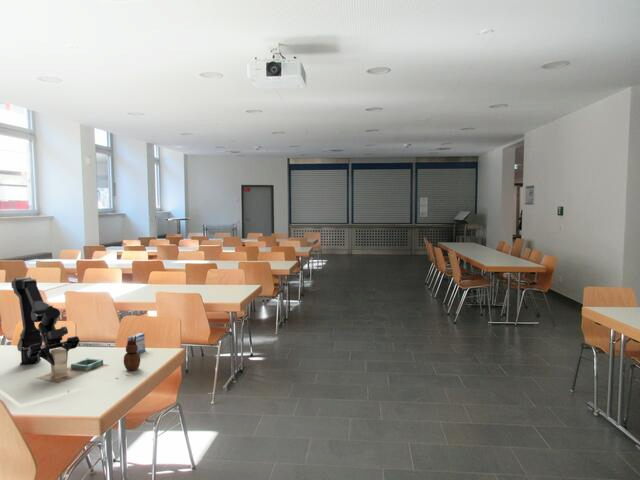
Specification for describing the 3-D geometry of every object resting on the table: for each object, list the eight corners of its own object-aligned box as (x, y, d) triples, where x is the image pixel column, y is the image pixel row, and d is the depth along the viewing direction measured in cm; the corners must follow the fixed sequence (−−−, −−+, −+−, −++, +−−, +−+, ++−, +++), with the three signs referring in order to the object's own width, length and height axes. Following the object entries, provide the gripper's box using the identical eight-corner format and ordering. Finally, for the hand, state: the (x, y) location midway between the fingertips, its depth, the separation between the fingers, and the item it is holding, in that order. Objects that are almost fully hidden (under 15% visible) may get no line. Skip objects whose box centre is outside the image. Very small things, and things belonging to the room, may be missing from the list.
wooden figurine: (143, 368, 204) (142, 334, 203) (133, 372, 199) (131, 337, 198) (131, 366, 207) (130, 333, 206) (121, 370, 202) (120, 336, 201)
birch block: (51, 376, 193) (50, 350, 192) (63, 373, 196) (62, 347, 196) (55, 378, 190) (54, 352, 189) (67, 375, 193) (66, 349, 193)
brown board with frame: (58, 385, 185) (58, 377, 185) (35, 380, 191) (35, 373, 191) (109, 367, 207) (109, 360, 206) (87, 363, 213) (87, 356, 213)
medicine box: (136, 355, 224) (135, 337, 224) (127, 354, 225) (127, 337, 224) (145, 350, 232) (144, 333, 231) (137, 350, 233) (136, 332, 232)
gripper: (28, 325, 187) (39, 357, 181) (76, 317, 201) (89, 347, 195) (22, 341, 193) (33, 373, 186) (70, 332, 207) (81, 362, 200)
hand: (60, 363), depth 192 cm, fingers closed on birch block, 4 cm apart
